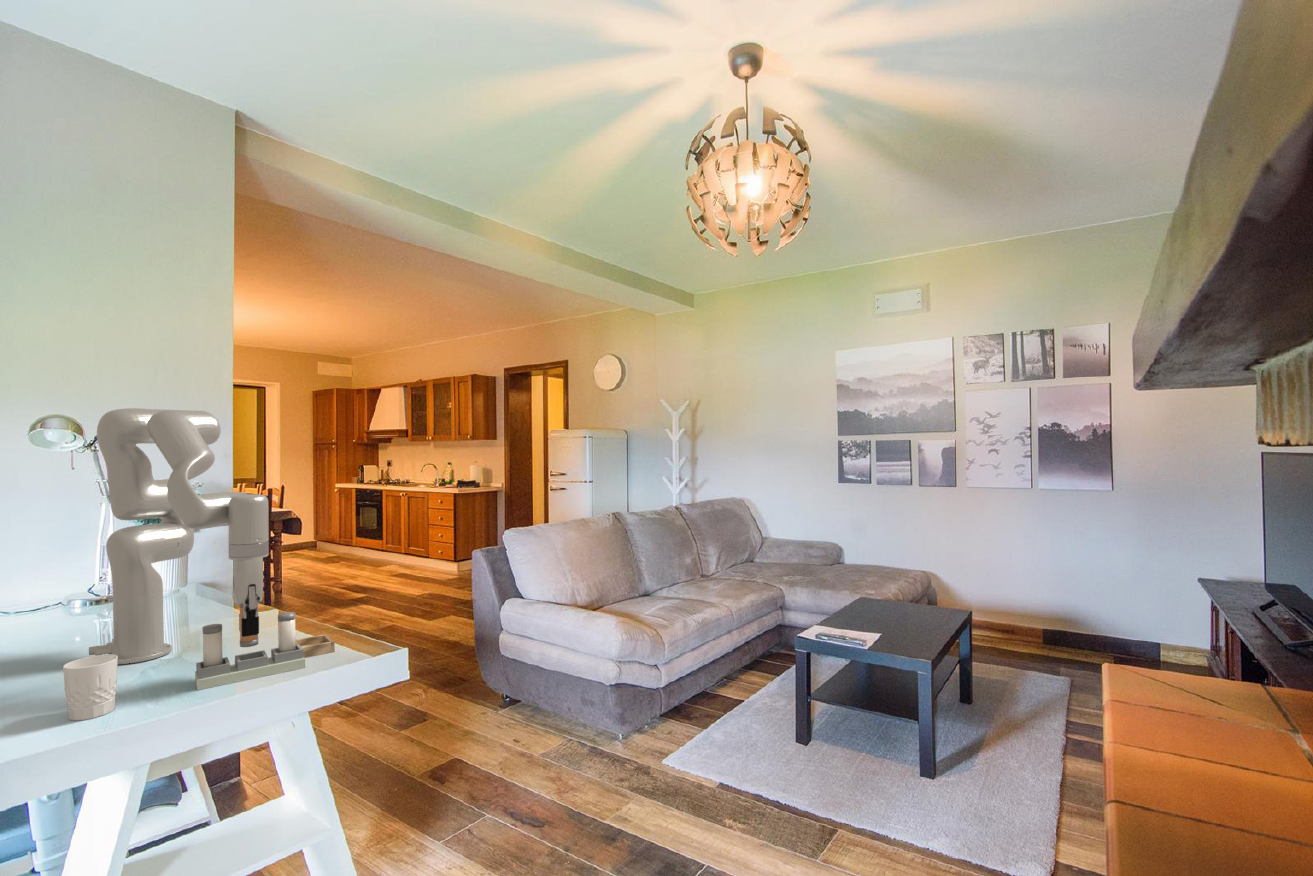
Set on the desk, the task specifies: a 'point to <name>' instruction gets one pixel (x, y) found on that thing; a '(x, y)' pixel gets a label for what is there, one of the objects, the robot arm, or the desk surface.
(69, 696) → the white cup
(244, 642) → the cylinder
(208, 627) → the cylinder
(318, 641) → the tray
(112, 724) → the desk surface
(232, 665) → the fuse holder
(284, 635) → the cylinder
